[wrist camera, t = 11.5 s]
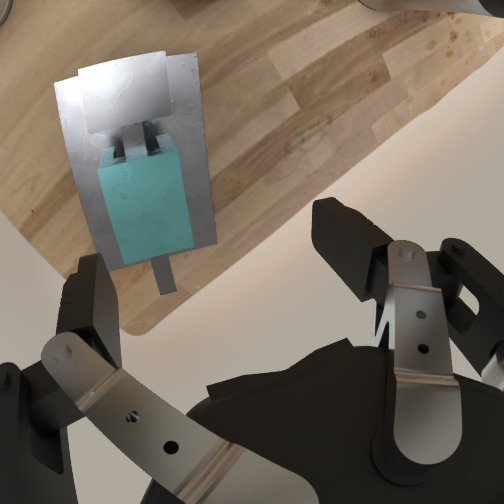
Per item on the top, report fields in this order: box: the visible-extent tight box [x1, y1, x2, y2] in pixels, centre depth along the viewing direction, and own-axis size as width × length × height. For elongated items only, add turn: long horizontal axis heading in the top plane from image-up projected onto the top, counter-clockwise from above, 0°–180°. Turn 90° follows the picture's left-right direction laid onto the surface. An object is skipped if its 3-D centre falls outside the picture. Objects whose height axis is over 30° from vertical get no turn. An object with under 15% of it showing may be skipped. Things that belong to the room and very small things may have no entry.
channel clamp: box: [97, 134, 194, 264], centre depth 25 cm, size 8×6×6 cm
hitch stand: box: [54, 51, 217, 295], centre depth 26 cm, size 14×22×14 cm, turn 3°
